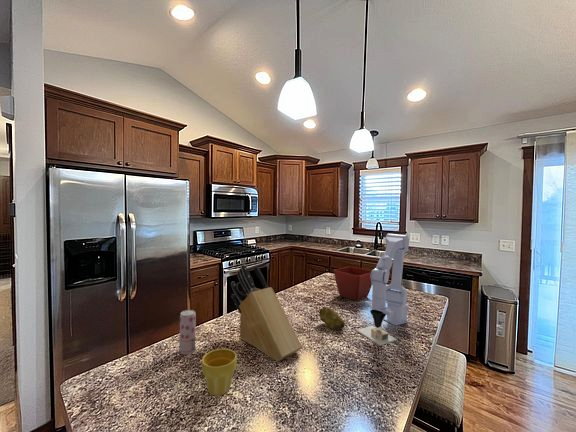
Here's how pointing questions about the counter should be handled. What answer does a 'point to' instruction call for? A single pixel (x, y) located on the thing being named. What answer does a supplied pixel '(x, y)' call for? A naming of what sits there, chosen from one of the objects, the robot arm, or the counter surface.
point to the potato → (331, 318)
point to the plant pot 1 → (219, 370)
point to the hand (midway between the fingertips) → (377, 326)
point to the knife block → (263, 317)
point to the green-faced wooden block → (379, 334)
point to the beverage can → (187, 331)
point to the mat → (367, 333)
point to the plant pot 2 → (353, 282)
